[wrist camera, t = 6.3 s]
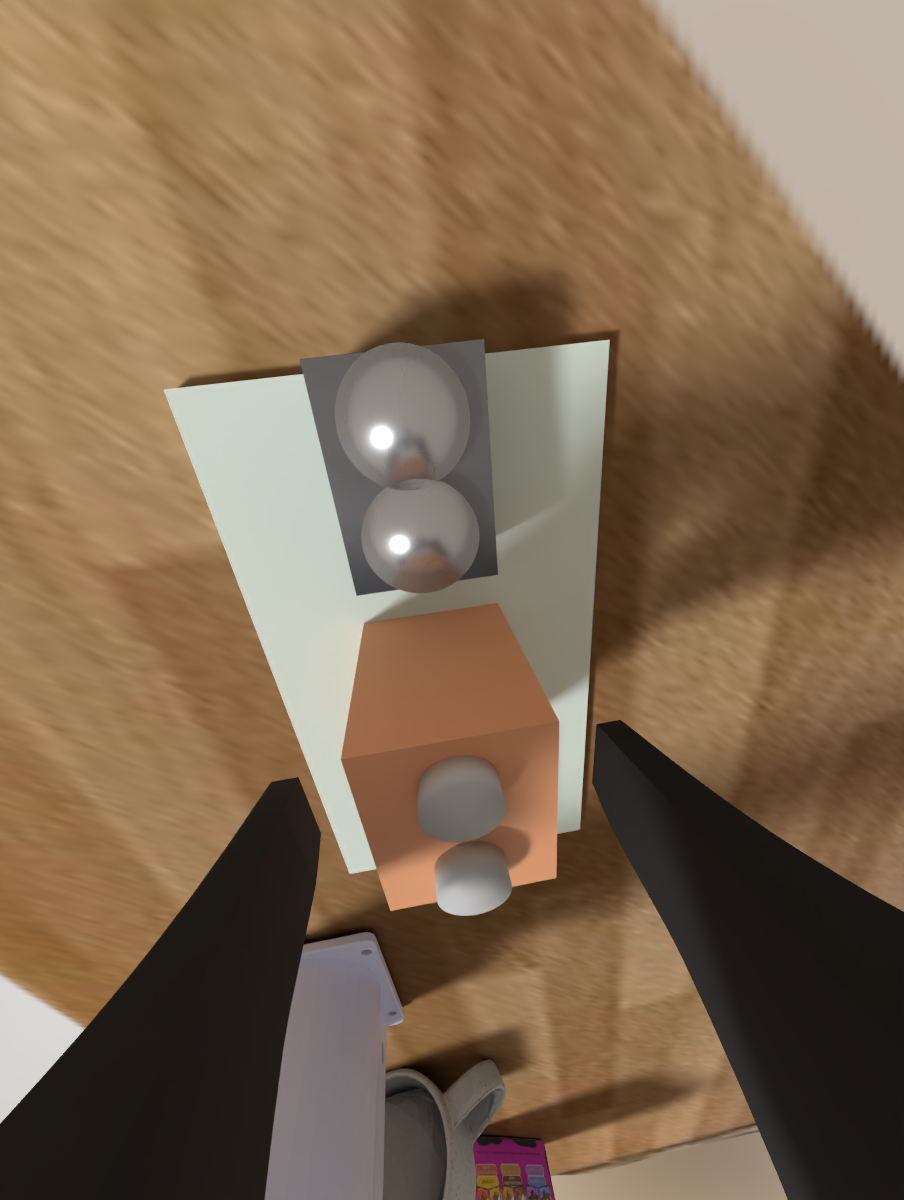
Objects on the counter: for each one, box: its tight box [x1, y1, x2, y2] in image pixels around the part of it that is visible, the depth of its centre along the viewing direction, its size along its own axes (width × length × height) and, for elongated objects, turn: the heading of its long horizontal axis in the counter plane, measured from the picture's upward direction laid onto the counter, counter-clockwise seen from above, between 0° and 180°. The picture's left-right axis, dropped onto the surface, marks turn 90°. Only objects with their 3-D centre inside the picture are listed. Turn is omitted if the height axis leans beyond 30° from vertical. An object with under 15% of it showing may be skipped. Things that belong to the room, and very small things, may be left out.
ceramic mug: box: [383, 1059, 505, 1200], centre depth 25 cm, size 11×8×8 cm
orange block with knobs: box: [341, 603, 559, 916], centre depth 10 cm, size 5×4×6 cm
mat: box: [164, 340, 610, 874], centre depth 13 cm, size 18×10×1 cm, turn 6°
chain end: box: [300, 339, 498, 596], centre depth 9 cm, size 5×3×2 cm
